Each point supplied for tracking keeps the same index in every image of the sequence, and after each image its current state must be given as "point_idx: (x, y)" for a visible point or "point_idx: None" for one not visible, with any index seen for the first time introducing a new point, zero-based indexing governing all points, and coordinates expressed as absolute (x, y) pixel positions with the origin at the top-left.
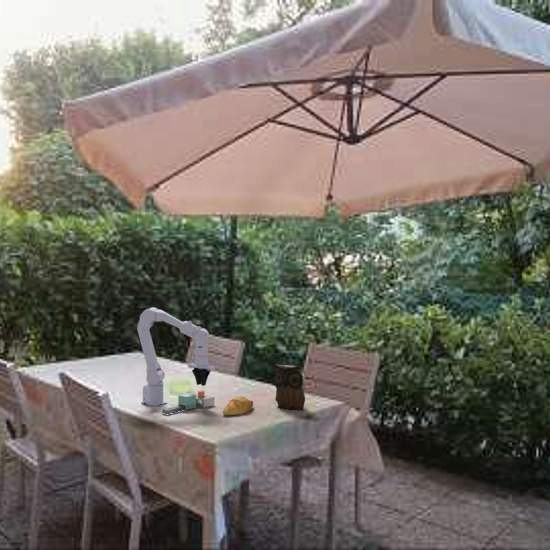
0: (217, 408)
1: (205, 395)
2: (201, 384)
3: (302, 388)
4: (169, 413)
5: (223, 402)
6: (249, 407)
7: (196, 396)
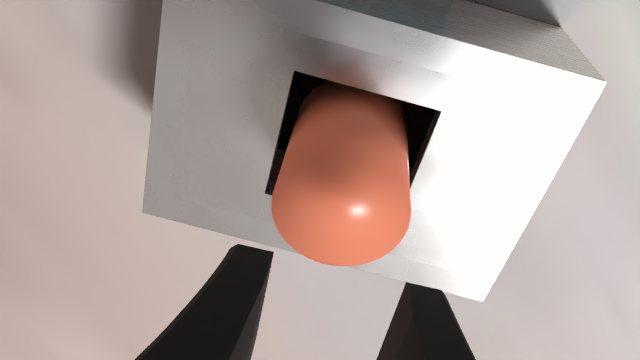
0: (54, 29)
1: None
2: (265, 266)
3: None
4: None
5: None
6: None
7: (434, 134)
